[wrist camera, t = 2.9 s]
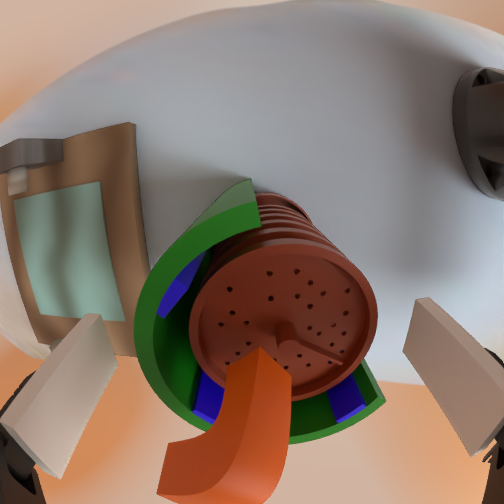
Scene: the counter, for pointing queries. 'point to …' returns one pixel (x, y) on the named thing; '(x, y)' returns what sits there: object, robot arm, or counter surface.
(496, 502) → the robot arm
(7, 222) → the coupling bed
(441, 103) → the counter surface
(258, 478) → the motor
